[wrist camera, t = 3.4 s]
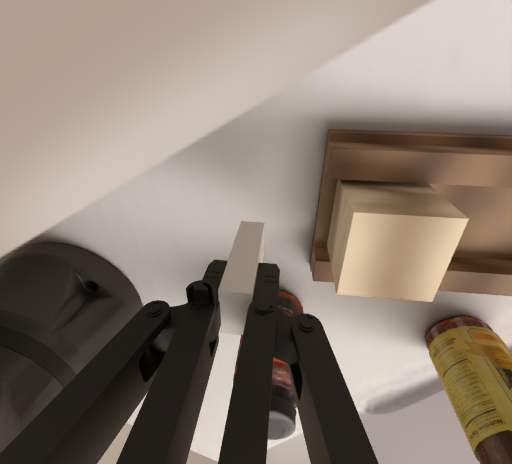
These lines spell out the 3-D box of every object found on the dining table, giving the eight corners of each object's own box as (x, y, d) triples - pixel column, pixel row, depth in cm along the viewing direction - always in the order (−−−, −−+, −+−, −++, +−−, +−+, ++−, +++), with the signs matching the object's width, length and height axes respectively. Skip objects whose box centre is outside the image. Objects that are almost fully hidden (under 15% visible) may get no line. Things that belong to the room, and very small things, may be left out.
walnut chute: (309, 264, 26) (312, 286, 24) (328, 129, 20) (333, 139, 18) (592, 285, 24) (628, 311, 22) (707, 142, 18) (775, 154, 16)
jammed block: (326, 244, 24) (336, 294, 19) (338, 175, 21) (353, 212, 16) (401, 249, 23) (432, 301, 18) (424, 179, 20) (468, 218, 15)
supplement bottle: (238, 291, 29) (212, 405, 19) (295, 281, 28) (298, 399, 18) (256, 331, 32) (241, 448, 22) (309, 324, 30) (318, 446, 21)
